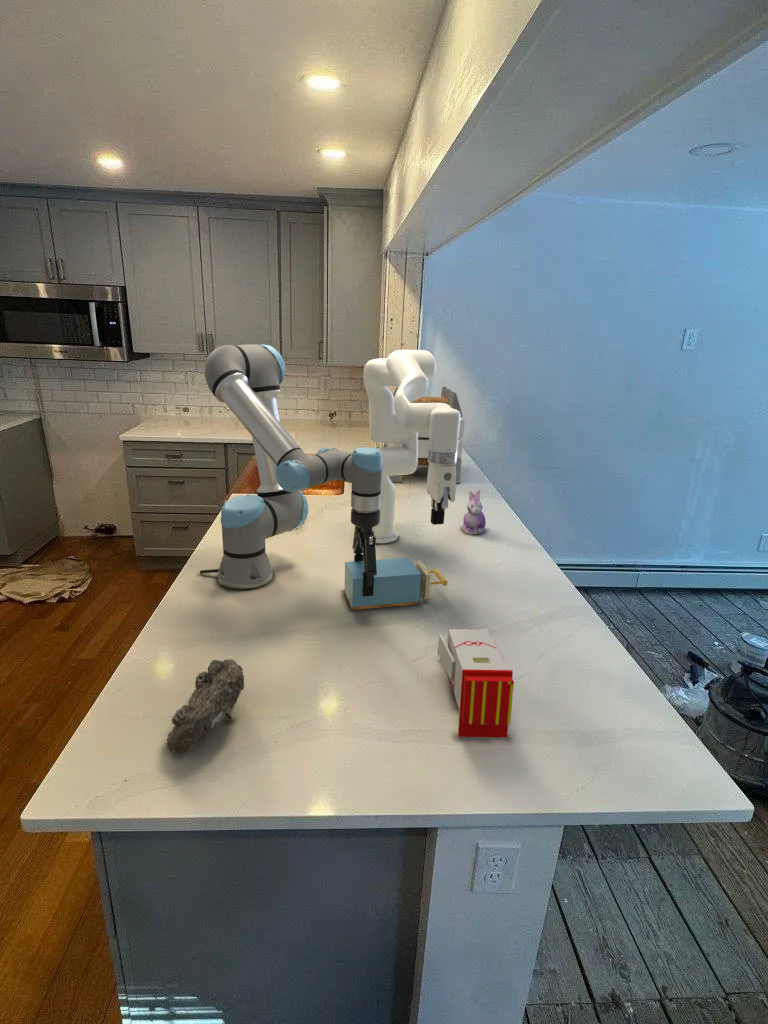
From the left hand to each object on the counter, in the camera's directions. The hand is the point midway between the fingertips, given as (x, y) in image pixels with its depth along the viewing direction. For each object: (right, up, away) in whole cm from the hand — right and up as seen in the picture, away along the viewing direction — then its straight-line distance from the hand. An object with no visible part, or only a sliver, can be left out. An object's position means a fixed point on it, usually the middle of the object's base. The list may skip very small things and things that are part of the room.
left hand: (363, 585), depth 153 cm
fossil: (-27, -19, -45) cm, 56 cm away
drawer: (+11, -2, +4) cm, 12 cm away
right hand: (+20, +17, -1) cm, 26 cm away
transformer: (+23, +39, +122) cm, 130 cm away
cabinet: (+5, -4, +3) cm, 7 cm away
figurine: (+38, +13, +53) cm, 67 cm away
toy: (+24, -18, -34) cm, 45 cm away
